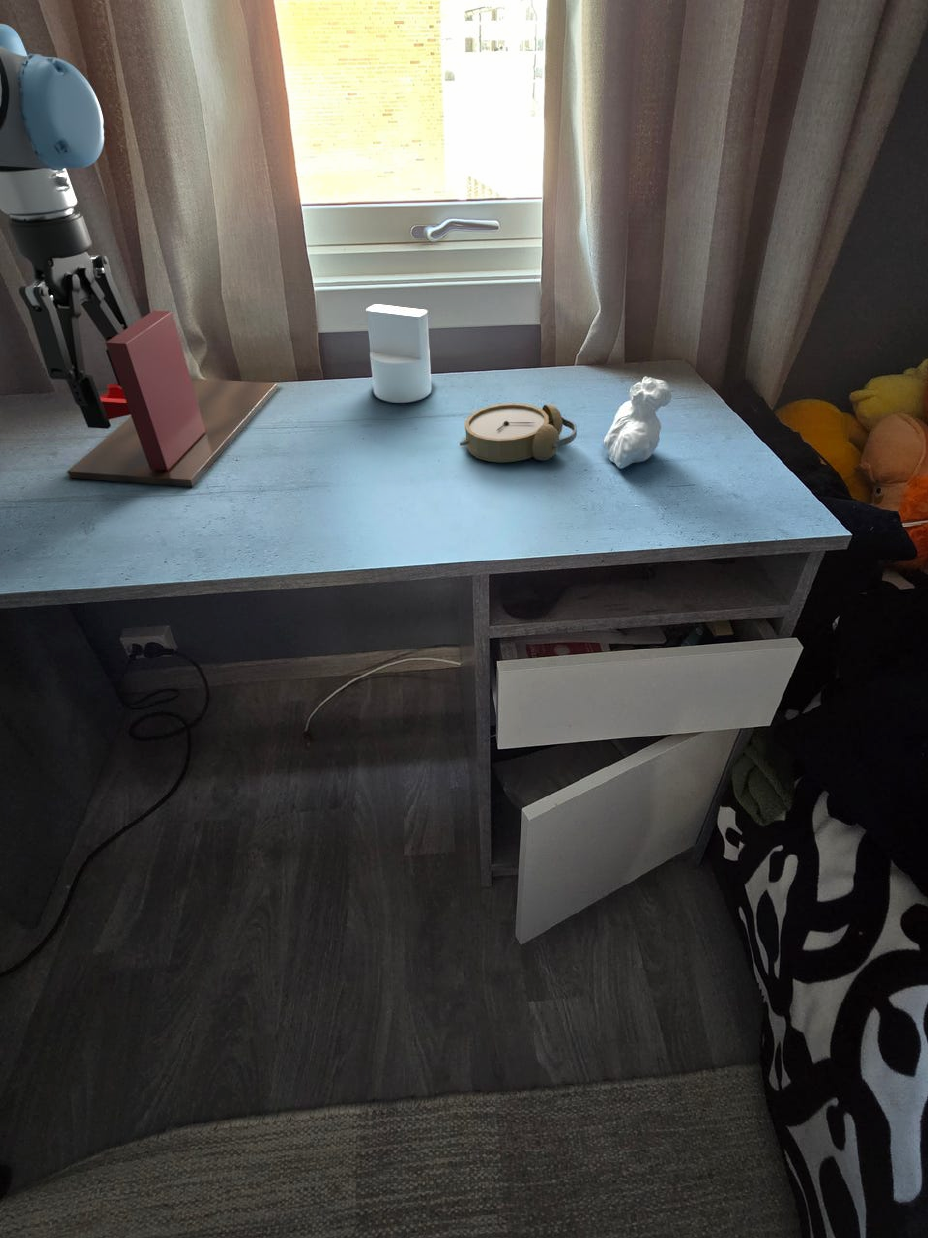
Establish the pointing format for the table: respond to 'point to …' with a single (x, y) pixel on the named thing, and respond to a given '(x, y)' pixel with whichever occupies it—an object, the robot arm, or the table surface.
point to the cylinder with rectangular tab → (399, 353)
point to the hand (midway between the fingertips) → (117, 411)
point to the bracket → (115, 402)
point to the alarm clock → (516, 432)
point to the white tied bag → (637, 423)
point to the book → (157, 388)
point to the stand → (223, 420)
